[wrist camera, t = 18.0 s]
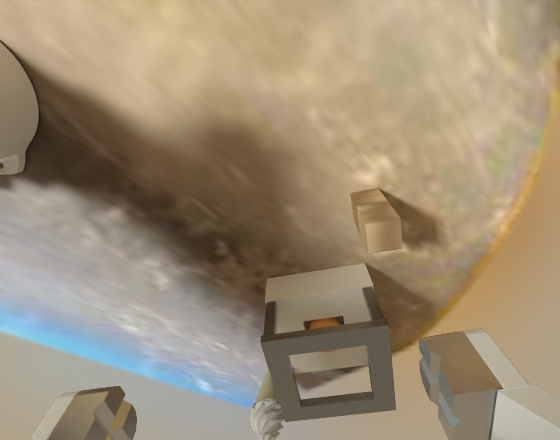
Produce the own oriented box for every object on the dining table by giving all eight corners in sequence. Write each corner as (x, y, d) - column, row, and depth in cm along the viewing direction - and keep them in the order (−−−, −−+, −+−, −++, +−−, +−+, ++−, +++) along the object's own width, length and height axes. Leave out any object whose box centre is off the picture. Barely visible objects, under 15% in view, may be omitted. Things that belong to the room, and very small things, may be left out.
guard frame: (285, 374, 48) (285, 421, 42) (264, 301, 42) (260, 342, 36) (381, 363, 46) (396, 409, 40) (373, 284, 41) (388, 325, 34)
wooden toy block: (353, 217, 42) (368, 253, 34) (350, 193, 41) (365, 224, 33) (380, 213, 42) (402, 248, 34) (378, 188, 40) (400, 218, 32)
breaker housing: (285, 348, 52) (285, 374, 48) (267, 278, 47) (264, 301, 42) (373, 336, 51) (381, 363, 46) (364, 263, 45) (373, 284, 41)
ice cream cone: (250, 361, 54) (237, 460, 40) (274, 348, 52) (270, 446, 39) (269, 378, 56) (262, 478, 42) (292, 366, 54) (294, 466, 41)
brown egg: (310, 327, 49) (313, 354, 44) (305, 305, 47) (307, 330, 42) (339, 323, 48) (345, 350, 44) (336, 300, 47) (341, 325, 42)
